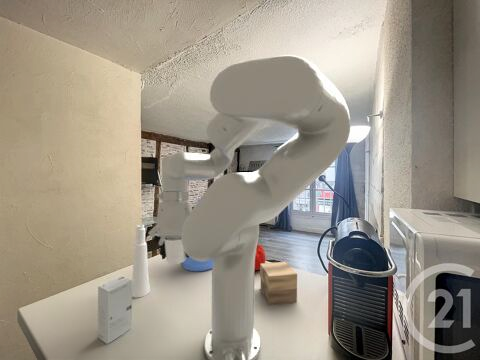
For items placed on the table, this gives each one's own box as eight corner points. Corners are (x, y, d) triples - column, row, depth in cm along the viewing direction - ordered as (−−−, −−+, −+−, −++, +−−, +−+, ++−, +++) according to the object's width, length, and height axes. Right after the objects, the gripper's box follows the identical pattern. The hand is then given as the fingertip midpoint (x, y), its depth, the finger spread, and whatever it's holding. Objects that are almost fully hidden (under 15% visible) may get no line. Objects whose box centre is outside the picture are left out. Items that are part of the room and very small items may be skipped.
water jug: (221, 257, 96) (222, 198, 95) (214, 273, 80) (214, 202, 80) (189, 255, 97) (189, 197, 97) (175, 271, 82) (176, 201, 81)
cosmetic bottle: (144, 285, 71) (144, 222, 70) (154, 291, 67) (154, 225, 67) (126, 293, 66) (126, 225, 65) (136, 300, 62) (136, 228, 62)
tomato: (249, 276, 78) (249, 253, 78) (235, 264, 88) (235, 243, 88) (271, 271, 83) (272, 249, 82) (256, 260, 93) (256, 240, 93)
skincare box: (107, 345, 46) (107, 292, 46) (96, 337, 48) (96, 286, 48) (133, 327, 51) (133, 279, 51) (122, 321, 53) (122, 275, 53)
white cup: (187, 263, 59) (186, 239, 59) (161, 265, 57) (161, 240, 57) (189, 255, 65) (188, 233, 65) (166, 256, 64) (166, 234, 64)
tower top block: (296, 288, 62) (297, 273, 62) (268, 291, 61) (269, 276, 61) (285, 274, 71) (285, 261, 71) (260, 276, 70) (260, 263, 69)
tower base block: (296, 302, 62) (297, 288, 62) (268, 305, 61) (268, 290, 61) (285, 287, 71) (285, 274, 71) (260, 289, 70) (260, 276, 70)
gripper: (140, 198, 57) (141, 263, 57) (204, 197, 59) (205, 259, 59) (149, 196, 64) (150, 254, 64) (205, 195, 66) (206, 250, 66)
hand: (176, 256), depth 61 cm, fingers closed on white cup, 6 cm apart
